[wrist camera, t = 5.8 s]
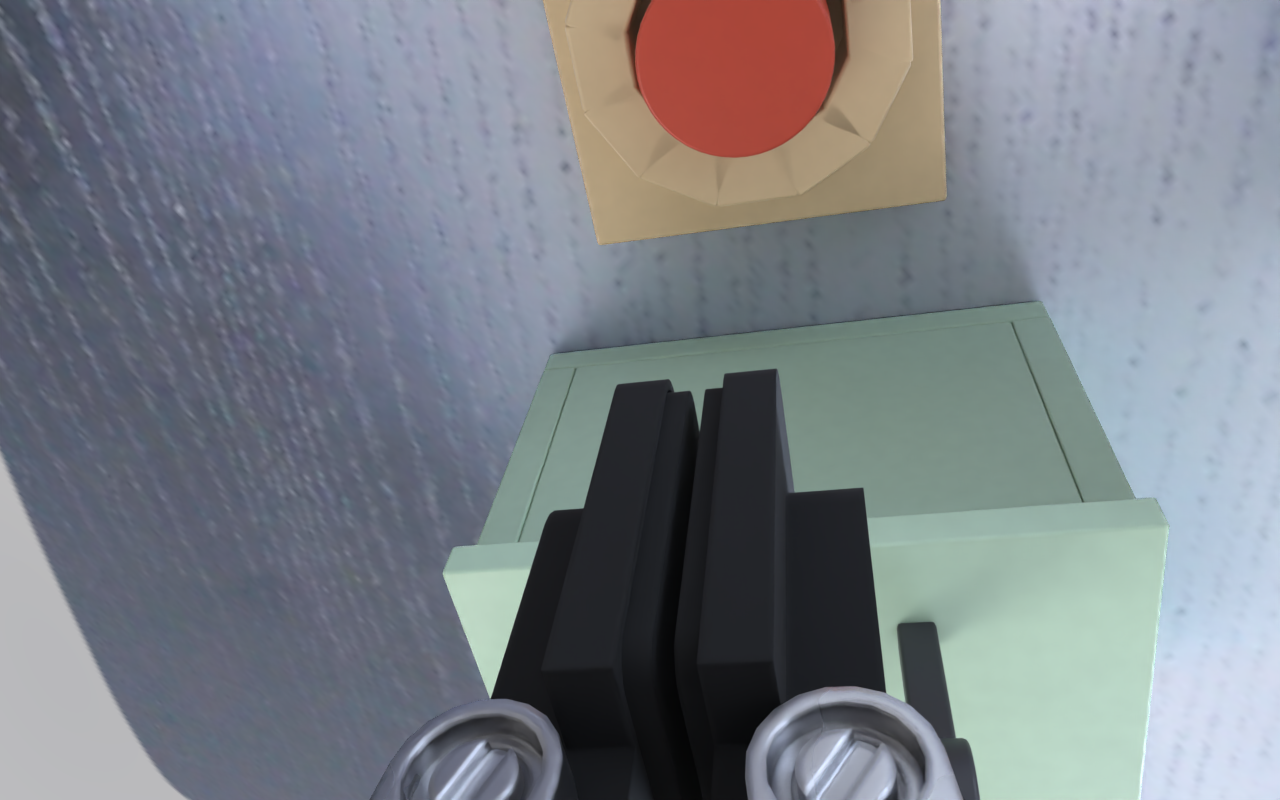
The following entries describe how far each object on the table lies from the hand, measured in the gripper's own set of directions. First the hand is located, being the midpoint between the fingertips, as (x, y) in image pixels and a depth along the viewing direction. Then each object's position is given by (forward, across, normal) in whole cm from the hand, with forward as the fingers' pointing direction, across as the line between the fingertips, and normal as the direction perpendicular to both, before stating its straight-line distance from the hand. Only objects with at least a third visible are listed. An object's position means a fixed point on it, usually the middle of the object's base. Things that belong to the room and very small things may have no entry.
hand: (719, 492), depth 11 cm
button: (+12, 0, -2) cm, 12 cm away
